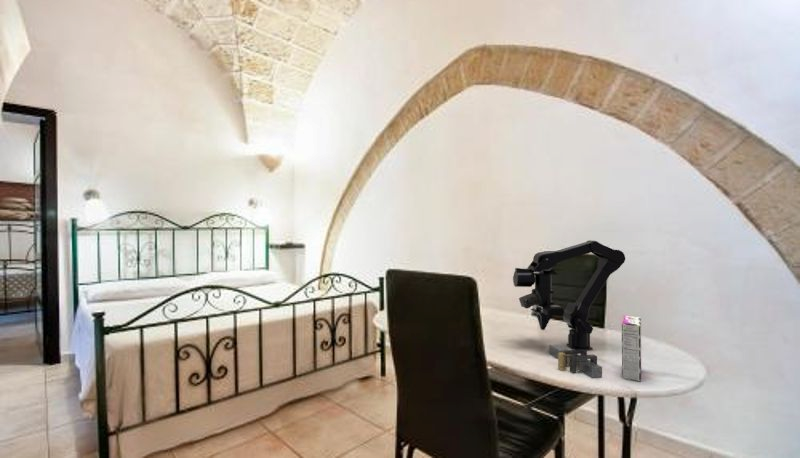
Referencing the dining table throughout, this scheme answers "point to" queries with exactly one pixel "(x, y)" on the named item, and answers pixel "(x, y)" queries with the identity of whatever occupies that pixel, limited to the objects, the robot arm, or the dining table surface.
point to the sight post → (562, 361)
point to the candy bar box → (631, 348)
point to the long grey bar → (579, 363)
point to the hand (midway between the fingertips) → (542, 329)
